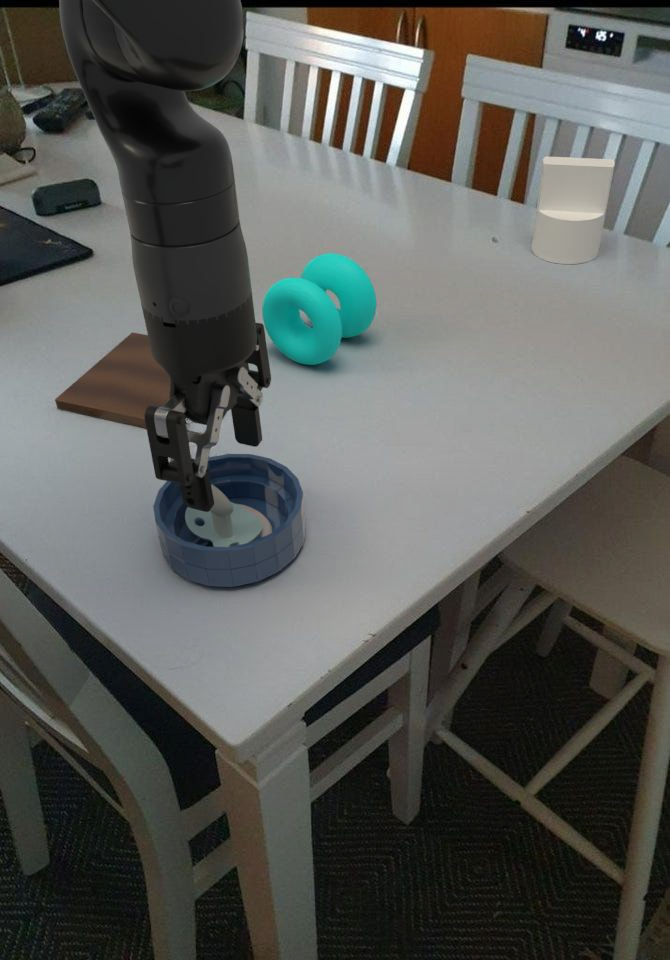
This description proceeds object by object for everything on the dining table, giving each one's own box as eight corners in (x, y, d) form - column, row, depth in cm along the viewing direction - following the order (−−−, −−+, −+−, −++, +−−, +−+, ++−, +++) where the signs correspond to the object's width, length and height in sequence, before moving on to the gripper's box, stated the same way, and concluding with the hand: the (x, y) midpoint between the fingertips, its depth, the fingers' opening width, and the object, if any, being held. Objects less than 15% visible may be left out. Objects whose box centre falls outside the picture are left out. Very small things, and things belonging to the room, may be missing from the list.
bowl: (268, 607, 63) (263, 567, 61) (135, 569, 67) (124, 529, 64) (326, 509, 72) (324, 470, 69) (206, 480, 76) (199, 442, 73)
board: (171, 434, 82) (169, 424, 81) (57, 408, 86) (54, 399, 85) (238, 360, 92) (237, 351, 92) (134, 340, 97) (132, 331, 96)
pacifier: (230, 500, 73) (178, 533, 69) (223, 443, 69) (168, 476, 66) (288, 535, 69) (237, 573, 66) (285, 478, 65) (229, 514, 62)
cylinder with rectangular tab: (529, 261, 109) (541, 172, 102) (533, 235, 116) (544, 149, 108) (598, 266, 108) (615, 175, 100) (598, 239, 114) (614, 151, 107)
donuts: (381, 340, 95) (381, 259, 88) (333, 380, 88) (329, 296, 82) (311, 319, 99) (307, 241, 93) (261, 355, 93) (252, 274, 87)
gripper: (198, 240, 61) (225, 416, 71) (88, 331, 51) (138, 520, 61) (289, 252, 59) (303, 432, 69) (192, 350, 49) (226, 543, 59)
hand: (225, 473), depth 65 cm, fingers open, 8 cm apart
